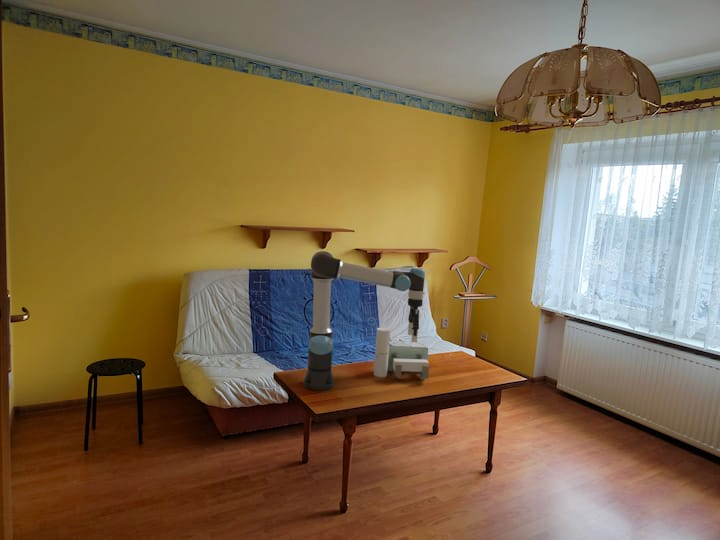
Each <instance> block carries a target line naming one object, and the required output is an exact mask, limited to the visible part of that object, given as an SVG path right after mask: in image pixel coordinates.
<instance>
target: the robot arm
mask: <svg viewBox="0 0 720 540" xmlns="http://www.w3.org/2000/svg"><path fill="white" fill-rule="evenodd" d="M425 274H426V271H425V270H424V269H423V268H419V267H417V268H416V267H412V268H410V270H409V271H401V270H400V271H398V270H397V271H396V270H389V271H388V270H382V269H377V268H373V267H366V266H364V265H359V264H353V263H348V262H344V261H342V259H340V258H335V257H334V256H333V255H332V253H330V252H328V251H324V250H320V251H318V252H316V253H314V254H313V256H312V258H311V261H310V279H311V280H312V281H313V305H312V307H313V311H312V312H313V313H312V314H313V315H312V328H310V329H309V340H308V354H307V355H308V356H307V358H308V359H307V369H306V370H307V371H306V373H305V375H304V377H303V381H302V383H303V386H304V388H305V389H308V390H312V391H328V390H331V389H333V388H334V387H335V378H334V375H333V372H332V366H333V365H332V364H333V349H334V341H333V329H332V328H331V327H330V325H331V324H330V323H331V294H332V292H331V289H332V284H331V283H332V281H333V280H334V279H335V280H338V279H340V278H341V279H345V280H351V281H355V282H361V283H365V284H370V285H376V286H381V287H386V288H389V289H393V290H394V289H395V290H397V291H399V292H406V291H408V294H407V295H408V298H407V305H408V306H409V313H408V319H407V320H408V324H407V325H408V328H407V335H409V336H411V343H413V342H414V343H417V342H418V333H419V329H420V310H419V308H420V307H421V308H422V307H423V301H424V300H423V298H424V295H425V292H424V287H425V279H426V277H425V276H426V275H425Z"/></svg>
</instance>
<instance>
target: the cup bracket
mask: <svg viewBox="0 0 720 540" xmlns="http://www.w3.org/2000/svg"><path fill="white" fill-rule="evenodd" d="M428 356H429V347H426V346H424V347H423V346H405V345H389V355H388V369H387V372H393V375H394V376H393V378H394V379H395V380H398V379H399V378H401V377H402V372H403V373H405V372H406V373H419V375H420V376H419V378H420V381H425V379H429V369H430V366H429V367H428V366H422V372H418V371H401V368H402V365H395V371H394V369H393V358H394V359H424V360H427V361H428Z"/></svg>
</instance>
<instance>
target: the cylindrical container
mask: <svg viewBox="0 0 720 540" xmlns="http://www.w3.org/2000/svg"><path fill="white" fill-rule="evenodd" d="M375 336H376V337H375V348H374V349H375V350H374V351H375V352H374V365H373V366H374V367H373V376H374V377H376V378H377V377H378V378H385V377H387V376H388V371H387V369H388V355H389V346H390V339H391V329H390V328H387V327H377V328H376V335H375Z"/></svg>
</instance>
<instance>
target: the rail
mask: <svg viewBox="0 0 720 540" xmlns="http://www.w3.org/2000/svg"><path fill="white" fill-rule="evenodd" d="M395 365H402V368H401V371H418V372H417V373H419V372H422V366H428V367H429V368H430V366H429V365H430V362H429V360H428V359H427V360H424V359H394V358H393V369H394V371H395Z"/></svg>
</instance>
